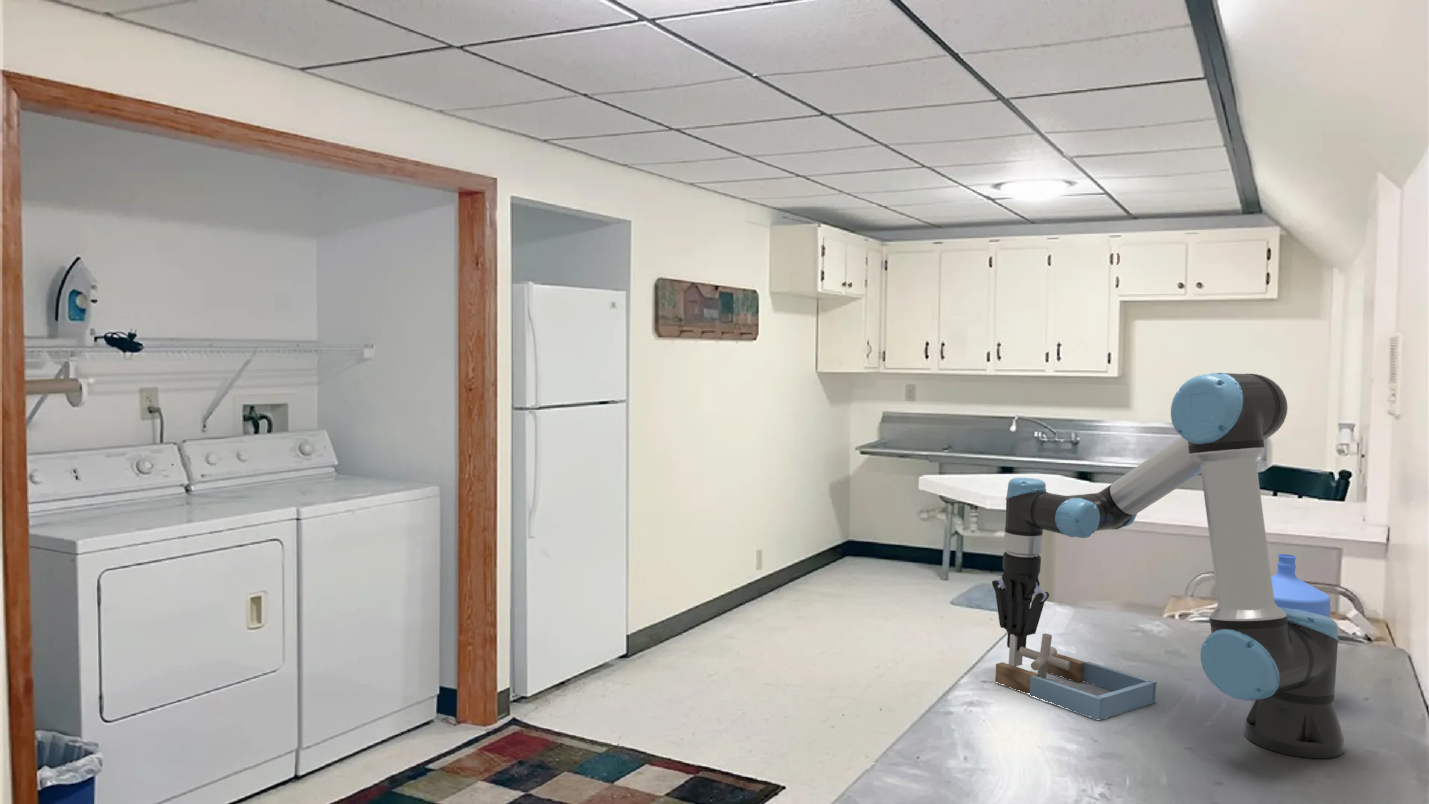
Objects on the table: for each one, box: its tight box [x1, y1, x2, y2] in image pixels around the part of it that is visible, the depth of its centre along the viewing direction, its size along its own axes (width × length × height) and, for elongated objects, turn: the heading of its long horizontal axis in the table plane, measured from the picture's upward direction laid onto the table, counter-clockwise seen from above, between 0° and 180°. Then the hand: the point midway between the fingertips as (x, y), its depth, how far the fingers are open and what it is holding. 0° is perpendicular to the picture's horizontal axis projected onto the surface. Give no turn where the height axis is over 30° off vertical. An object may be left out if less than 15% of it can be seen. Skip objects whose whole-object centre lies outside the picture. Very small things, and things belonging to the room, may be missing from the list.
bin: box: [1029, 661, 1158, 720], centre depth 201 cm, size 15×18×4 cm
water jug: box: [1271, 553, 1331, 618], centre depth 206 cm, size 16×16×28 cm
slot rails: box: [994, 653, 1086, 694], centre depth 211 cm, size 9×17×4 cm, turn 125°
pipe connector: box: [1019, 633, 1070, 679], centre depth 210 cm, size 10×10×10 cm
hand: (1015, 664), depth 216 cm, fingers closed
